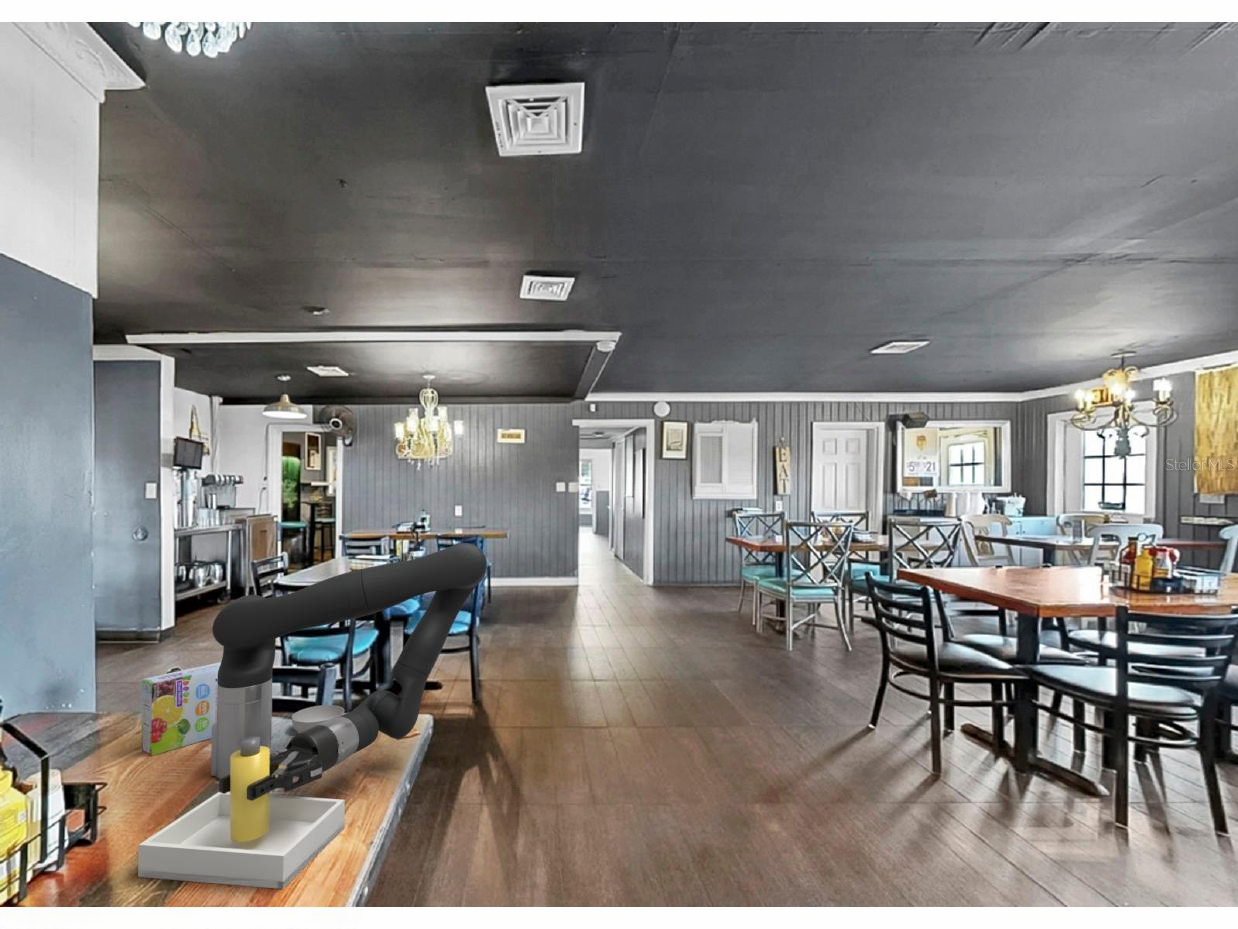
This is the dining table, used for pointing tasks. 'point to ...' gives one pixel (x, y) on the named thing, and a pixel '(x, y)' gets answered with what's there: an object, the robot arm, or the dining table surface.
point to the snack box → (179, 708)
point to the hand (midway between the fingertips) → (235, 790)
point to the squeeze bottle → (245, 770)
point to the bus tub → (242, 843)
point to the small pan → (315, 716)
